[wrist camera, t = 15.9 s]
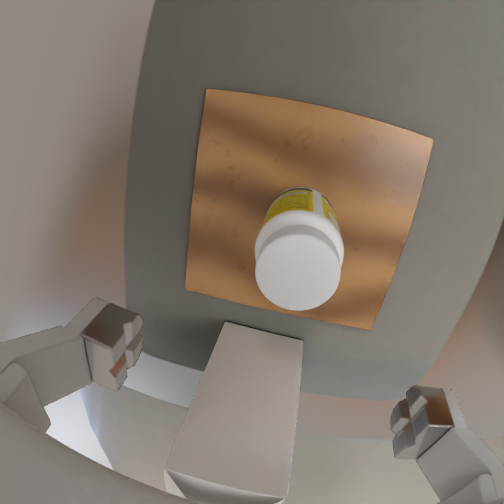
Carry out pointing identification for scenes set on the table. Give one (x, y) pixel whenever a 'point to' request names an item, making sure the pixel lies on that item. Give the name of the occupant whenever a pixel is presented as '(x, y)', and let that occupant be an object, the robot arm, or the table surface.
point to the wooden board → (301, 175)
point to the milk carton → (240, 422)
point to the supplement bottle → (299, 250)
